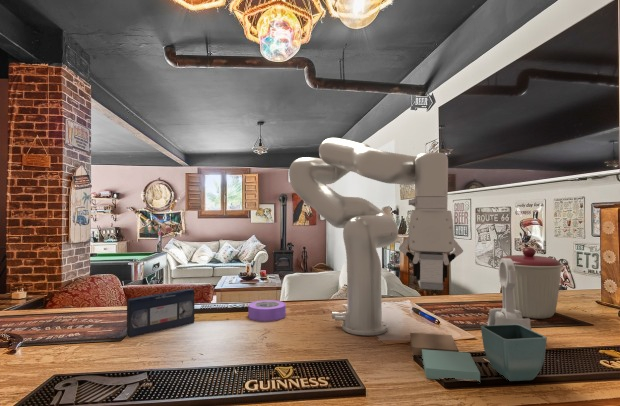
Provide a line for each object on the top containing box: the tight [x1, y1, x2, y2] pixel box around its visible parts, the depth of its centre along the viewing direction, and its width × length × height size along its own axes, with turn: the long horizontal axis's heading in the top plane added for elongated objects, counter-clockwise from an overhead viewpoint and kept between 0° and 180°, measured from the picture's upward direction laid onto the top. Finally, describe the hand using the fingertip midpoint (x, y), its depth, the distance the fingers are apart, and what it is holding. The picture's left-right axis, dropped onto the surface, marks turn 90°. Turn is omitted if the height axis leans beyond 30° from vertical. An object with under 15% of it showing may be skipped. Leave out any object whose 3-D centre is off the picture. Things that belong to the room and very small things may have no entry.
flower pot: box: [480, 324, 548, 382], centre depth 75 cm, size 9×9×9 cm
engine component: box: [487, 257, 532, 330], centre depth 96 cm, size 11×20×10 cm
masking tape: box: [247, 299, 287, 322], centre depth 117 cm, size 12×12×4 cm
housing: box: [417, 252, 444, 291], centre depth 89 cm, size 8×5×8 cm, turn 168°
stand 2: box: [421, 349, 481, 383], centre depth 77 cm, size 10×10×2 cm
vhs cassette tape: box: [126, 288, 196, 338], centre depth 105 cm, size 18×3×10 cm, turn 131°
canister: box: [496, 246, 565, 320], centre depth 117 cm, size 18×18×21 cm
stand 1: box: [409, 332, 460, 357], centre depth 89 cm, size 10×10×2 cm
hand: (429, 279), depth 89 cm, fingers closed on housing, 5 cm apart
